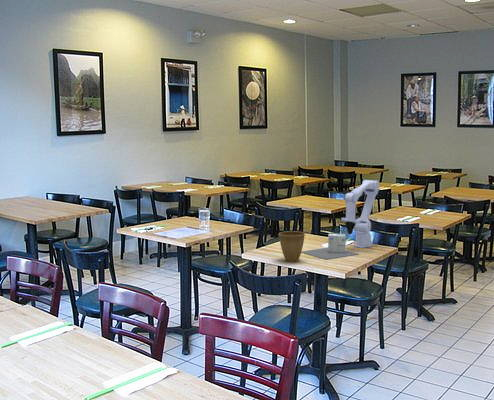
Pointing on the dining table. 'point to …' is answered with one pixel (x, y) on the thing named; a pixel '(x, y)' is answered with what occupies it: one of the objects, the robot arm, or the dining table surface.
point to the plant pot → (291, 244)
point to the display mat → (327, 253)
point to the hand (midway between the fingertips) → (349, 233)
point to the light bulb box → (337, 243)
